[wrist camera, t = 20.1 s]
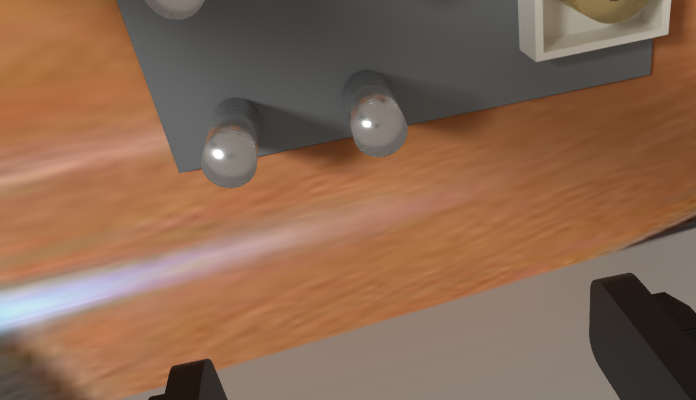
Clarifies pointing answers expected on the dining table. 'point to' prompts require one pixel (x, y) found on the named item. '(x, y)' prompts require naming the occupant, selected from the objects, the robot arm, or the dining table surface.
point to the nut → (606, 9)
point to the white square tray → (583, 28)
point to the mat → (346, 64)
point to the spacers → (244, 119)
